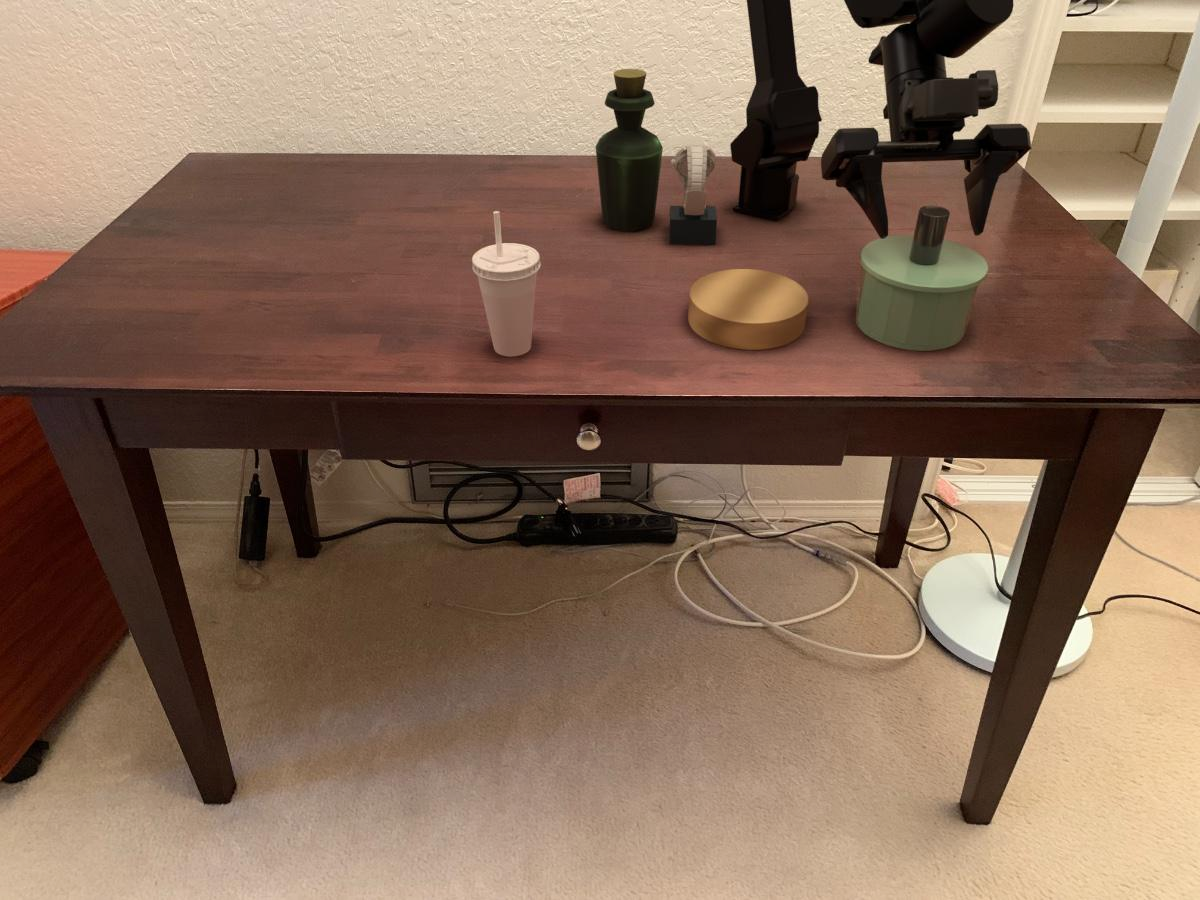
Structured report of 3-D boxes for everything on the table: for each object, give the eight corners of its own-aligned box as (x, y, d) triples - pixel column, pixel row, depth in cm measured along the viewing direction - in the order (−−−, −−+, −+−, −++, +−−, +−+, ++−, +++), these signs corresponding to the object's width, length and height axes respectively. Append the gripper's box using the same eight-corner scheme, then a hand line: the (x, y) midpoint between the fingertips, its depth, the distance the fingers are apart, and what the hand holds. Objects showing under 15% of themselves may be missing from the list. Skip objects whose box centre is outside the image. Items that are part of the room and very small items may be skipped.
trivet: (667, 330, 93) (668, 304, 91) (718, 284, 101) (720, 259, 99) (777, 361, 88) (780, 334, 86) (821, 311, 96) (826, 285, 94)
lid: (841, 280, 88) (851, 219, 85) (880, 236, 96) (891, 179, 93) (968, 310, 83) (984, 246, 79) (997, 261, 91) (1014, 202, 88)
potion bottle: (583, 220, 116) (580, 72, 105) (630, 204, 120) (632, 60, 109) (626, 240, 111) (627, 86, 100) (673, 222, 115) (680, 73, 104)
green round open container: (840, 333, 92) (850, 273, 88) (874, 291, 99) (885, 234, 95) (948, 361, 87) (964, 300, 83) (976, 315, 95) (991, 257, 91)
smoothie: (480, 332, 93) (468, 200, 84) (543, 329, 93) (537, 197, 85) (479, 365, 87) (465, 227, 79) (546, 362, 88) (539, 224, 80)
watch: (712, 224, 114) (719, 136, 108) (716, 250, 108) (722, 159, 101) (668, 223, 115) (671, 135, 108) (668, 250, 108) (672, 158, 102)
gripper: (847, 37, 81) (863, 203, 79) (1051, 33, 82) (1073, 197, 79) (813, 103, 92) (826, 250, 90) (994, 98, 93) (1011, 244, 90)
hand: (931, 235), depth 87 cm, fingers open, 9 cm apart
